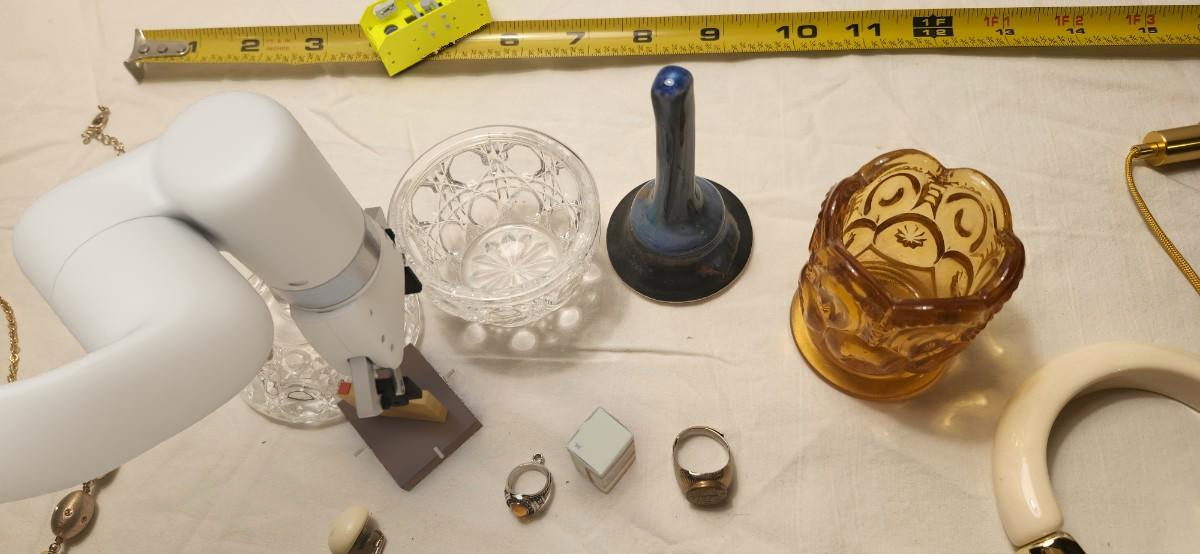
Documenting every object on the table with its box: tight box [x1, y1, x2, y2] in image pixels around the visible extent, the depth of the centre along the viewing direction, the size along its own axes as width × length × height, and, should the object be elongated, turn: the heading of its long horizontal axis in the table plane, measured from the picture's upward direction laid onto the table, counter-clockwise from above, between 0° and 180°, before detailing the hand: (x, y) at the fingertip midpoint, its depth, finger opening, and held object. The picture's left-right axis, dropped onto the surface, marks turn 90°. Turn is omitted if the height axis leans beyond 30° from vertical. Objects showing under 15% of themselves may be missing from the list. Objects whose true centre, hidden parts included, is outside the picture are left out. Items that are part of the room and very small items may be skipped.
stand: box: [336, 342, 483, 493], centre depth 79 cm, size 13×13×3 cm
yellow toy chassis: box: [358, 0, 493, 77], centre depth 99 cm, size 16×6×8 cm, turn 123°
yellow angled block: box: [336, 381, 448, 423], centre depth 74 cm, size 9×1×7 cm, turn 82°
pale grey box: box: [565, 405, 637, 495], centre depth 72 cm, size 5×4×10 cm
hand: (405, 342), depth 63 cm, fingers open, 9 cm apart
